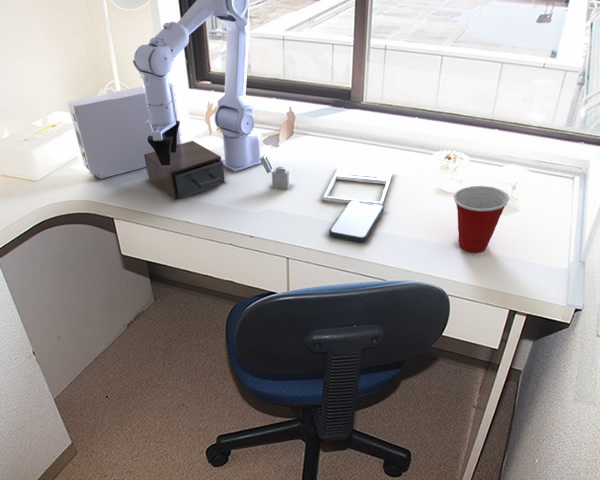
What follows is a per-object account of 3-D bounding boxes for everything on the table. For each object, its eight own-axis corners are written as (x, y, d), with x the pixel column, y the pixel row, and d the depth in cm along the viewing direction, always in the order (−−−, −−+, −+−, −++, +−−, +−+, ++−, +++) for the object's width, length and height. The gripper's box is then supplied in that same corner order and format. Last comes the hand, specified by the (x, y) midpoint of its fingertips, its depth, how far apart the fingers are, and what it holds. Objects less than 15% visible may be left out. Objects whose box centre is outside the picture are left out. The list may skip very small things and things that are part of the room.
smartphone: (365, 245, 121) (385, 211, 132) (365, 239, 120) (385, 205, 131) (326, 237, 124) (349, 205, 135) (327, 231, 123) (349, 199, 134)
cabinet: (223, 183, 146) (220, 156, 142) (175, 199, 139) (170, 172, 134) (196, 166, 155) (192, 140, 151) (149, 180, 148) (143, 154, 143)
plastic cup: (447, 230, 125) (456, 181, 117) (497, 236, 122) (509, 186, 115) (443, 255, 117) (451, 204, 109) (497, 263, 114) (509, 211, 107)
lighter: (289, 186, 144) (288, 156, 139) (287, 189, 143) (286, 159, 138) (263, 183, 146) (261, 154, 141) (261, 186, 144) (259, 156, 139)
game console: (186, 157, 160) (176, 86, 148) (93, 181, 148) (73, 106, 136) (178, 150, 164) (167, 81, 152) (86, 174, 152) (66, 100, 140)
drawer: (235, 189, 141) (233, 168, 138) (189, 205, 135) (186, 183, 131) (198, 166, 153) (196, 147, 149) (155, 180, 146) (151, 160, 143)
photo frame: (392, 171, 147) (382, 202, 133) (392, 175, 148) (382, 206, 134) (338, 166, 150) (323, 196, 136) (338, 170, 151) (323, 200, 137)
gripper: (148, 92, 133) (158, 147, 141) (134, 113, 121) (145, 171, 130) (178, 91, 133) (186, 146, 141) (166, 112, 121) (176, 170, 130)
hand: (168, 158), depth 135 cm, fingers open, 7 cm apart
